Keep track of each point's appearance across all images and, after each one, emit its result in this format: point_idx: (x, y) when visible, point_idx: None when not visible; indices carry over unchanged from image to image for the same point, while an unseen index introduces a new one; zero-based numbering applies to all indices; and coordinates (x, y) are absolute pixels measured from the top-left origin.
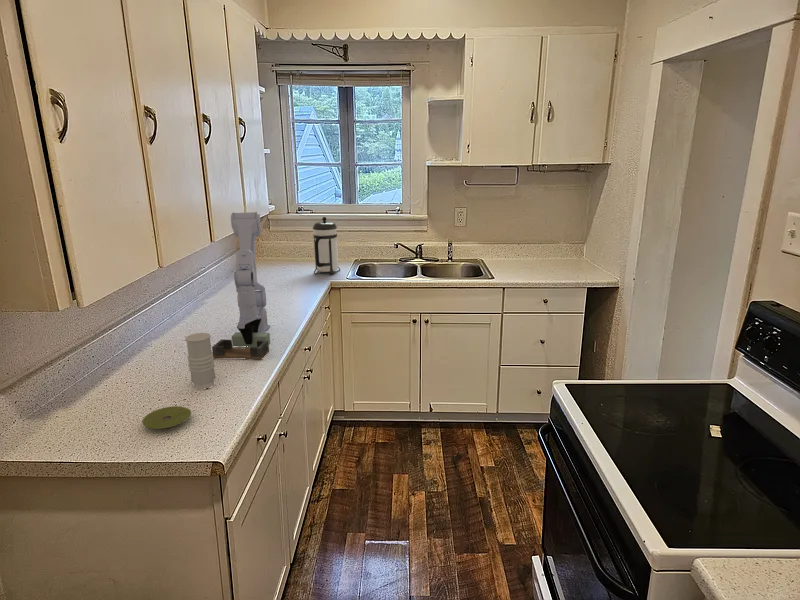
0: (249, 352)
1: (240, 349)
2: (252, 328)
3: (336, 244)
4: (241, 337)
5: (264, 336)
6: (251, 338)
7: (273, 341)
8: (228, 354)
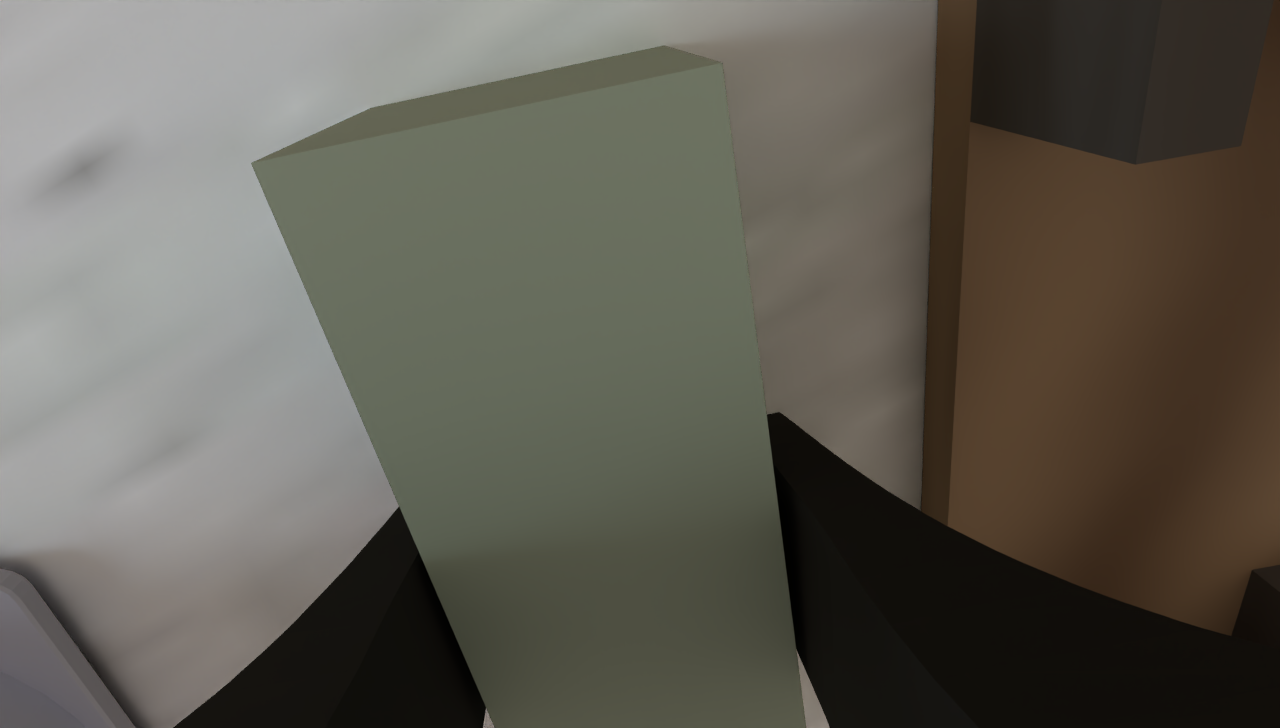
0: (1206, 208)
1: (1017, 471)
2: (1261, 674)
3: None
4: (801, 703)
5: (703, 133)
6: (854, 471)
7: (214, 92)
8: (1250, 527)
